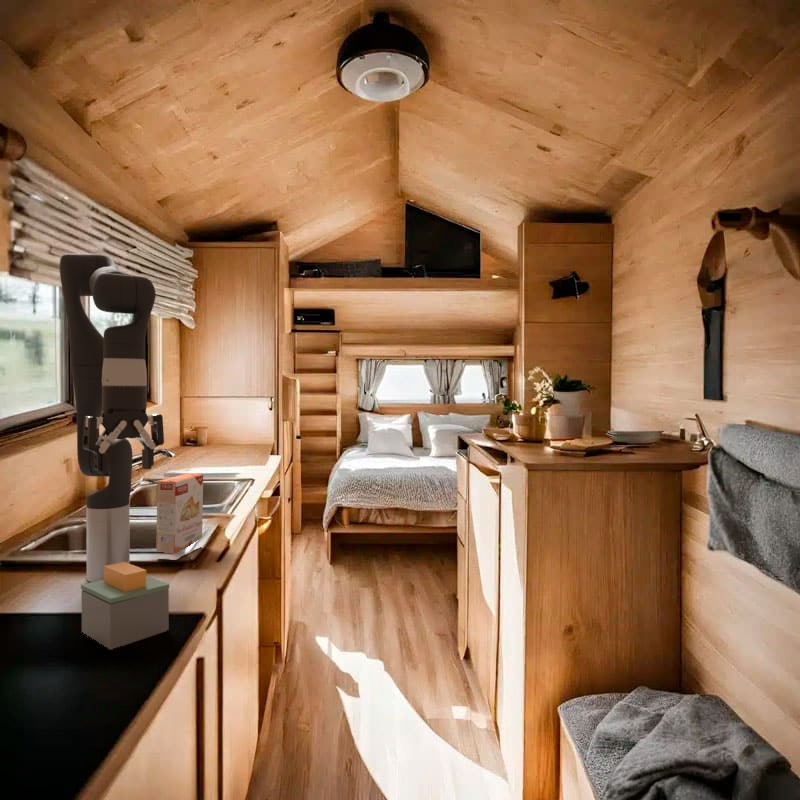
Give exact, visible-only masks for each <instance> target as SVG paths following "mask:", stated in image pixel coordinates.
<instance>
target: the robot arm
mask: <svg viewBox="0 0 800 800" xmlns="http://www.w3.org/2000/svg"><path fill="white" fill-rule="evenodd" d="M59 277H60V284H61V290H62V296H63V300H64V302H63V303H64V307H65V315H66V321H67V326H68V338H69V348H70V349H69V351H70V353H69V354H70V364H71V374H72V383H73V390H74V398H75V400H74V401H75V408H76V411H75V412H76V433H77V434H76V447H77V448H76V452H77V453H76V455H77V463H78V467H79V470H80V472H81V473H82V474H83V475H84V476H87V477H97V478H98V477H99V478H100V477H103V478H104V477H105V478H106V477H108V483H107V485H106V486H105V487H103V488H100V489H98V490H95V491H93V492H91V493H88V494H87V496H86V499H85V500H86V501H85V502H86V503H85V506H86V509H85V511H86V515H85V516H86V517H85V518H86V519H85V520H86V539H85V540H86V581H88V583H91V582H95V581H100V580H104V566H107V565H112V564H117V563H122V562H126V563H129V564H131V561H130V560H131V558H130V557H131V556H130V552H131V551H130V548H131V547H130V544H131V541H130V532H131V531H130V530H131V529H130V523H131V521H130V498H131V497H130V496H131V492H132V491H131V490H132V474H133V473H132V472H133V458H134V457H133V449H132V444H131V443H130V441H129V440H128V439H135V440H136V441H138V442H139V444H141V446H142V447H143V448H142V449H141V468H142V469H144V470H152V466H154V464H155V462H154V460H155V454H154V453H155V452H154V451H155V448H156V447H159V446H162V445H164V443H165V434H164V417H163V415H162V414H159V413H151V414H149V415H148V414H147V407H148V397H147V396H148V391H147V390H148V380H147V379H148V378H147V377H148V374H147V373H148V372H147V371H148V370H147V364H146V337H147V330H148V325H149V322H150V321H149V320H150V317H151V314H152V311H153V308H154V305H155V302H156V294H157V293H156V289H155V286H154V284H153V282H152V281H151V280H150V279H149V278H148V277H146V276H138V275H130V274H126V273H125V272H123V271H120V270H119V267H118V266H117V264H116V263H115V261H114V260H113V259H112V258H111V256H108V255H106V254H102V253H101V254H99V253H64V254H63V255H61V257H60V259H59ZM81 297H92V300H93V303H94V305H95V306H96V308H97V310H99V311H102V312H105V313H114V314H127V315H131V314H132V319H131V320H130V321H129V323H126V324H121V325H120V324H119V325H114V326H109V327H107V328H105V330H104V331H103V335H102V333H100V331H99V330H98V329H97V328H96V327H95V325H94V324H93V323H92V321H91V319H90V318H89V316H88V314H87V313H86V311H85V309H84V306H83V303H82V301H81V300H82V299H81ZM147 424H148V425H149V426H150V434H149V432H148V431H147V429H145V426H146V425H147ZM100 425H102V427H103V428H104V430H103V432H101V434H100Z"/></svg>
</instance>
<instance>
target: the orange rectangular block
mask: <svg viewBox="0 0 800 800" xmlns="http://www.w3.org/2000/svg"><path fill="white" fill-rule="evenodd" d="M146 575H147V570H146V569H144V568H143V567H142V568H141V567H139V566H137V565H134V564H131V563H130V564H129V563H126V562H122V563H117V564H112V565H107V566H104V582H105V583H107V584H109V585H111V586H114V587H116V588H118V589H120V590H123V591H129V590H133V589H137V588H141V587H145V586H146Z"/></svg>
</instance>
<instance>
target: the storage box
mask: <svg viewBox="0 0 800 800" xmlns="http://www.w3.org/2000/svg"><path fill="white" fill-rule="evenodd" d="M169 589H170V588H169ZM169 589H165V590H161V591H157V592H153V593H150V594H146V595H142V596H138V597H134V598H130V599H126V600H122V601H118V602H115V603H109V602H107V601H105V600H103V599H101V598H99V597H97V596H95V595H92V594H90V593H88V592H86V591H84V590H82V589H81V633H82V632H83V633H84V634H86V635H87V636H86V635H85V636H86V637H88V636H89V637H91V638H92V639H91V638H90V639H91V640H93V639H94V640H96V641H97V642H96V641H95V642H96V643H98V642H99V643H98V644H100V645H101V644H102V645H101V646H103V645H104V648H106V647H107V649H108V650H111V651H112V650H114V648H115V649H118V648H121V647H124V646H126V645H129V644H132V643H135V642H138V641H141V640H144V639H147V638H150V637H153V636H156V635H159V634H162V633H165V632H167V630H168V631H169V630H170V629H169V628H170V627H169V624H170V623H169V621H170V620H169V619H170V617H169V616H170V615H169V608H170V607H169V606H170V605H169V599H170V598H169V597H170V595H169V592H170V590H169ZM84 634H83V635H84ZM89 637H88V638H89ZM94 640H93V641H94ZM120 646H121V647H120ZM117 647H118V648H117Z"/></svg>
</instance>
